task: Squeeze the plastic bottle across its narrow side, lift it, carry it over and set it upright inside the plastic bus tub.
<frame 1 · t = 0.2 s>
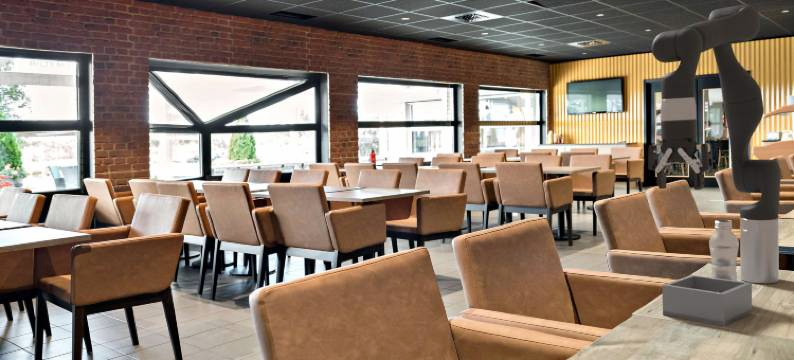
hand: (680, 189, 155), 29 cm above the table, fingers open, 8 cm apart
plastic bottle: (724, 302, 165), on the table
bus tub: (707, 314, 155), on the table
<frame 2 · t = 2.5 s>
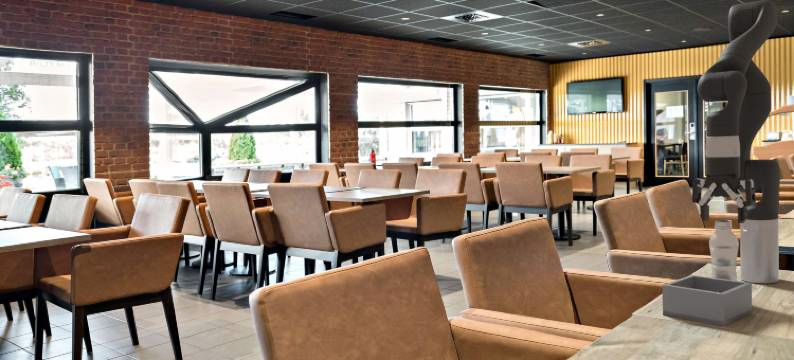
hand: (723, 221, 163), 20 cm above the table, fingers open, 8 cm apart
nothing on the table moved.
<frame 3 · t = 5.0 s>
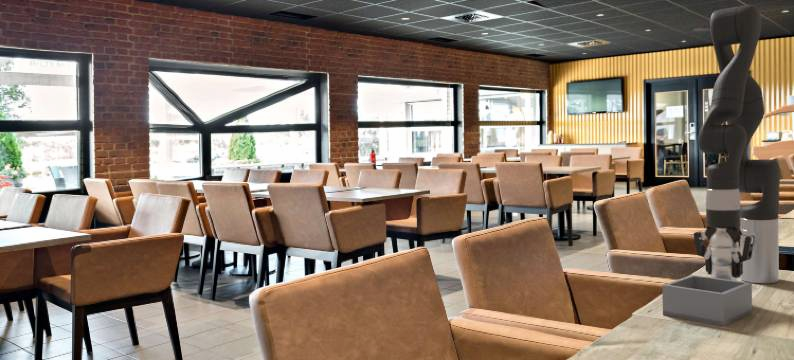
hand: (723, 275, 164), 7 cm above the table, fingers closed on plastic bottle, 5 cm apart
plastic bottle: (724, 302, 165), on the table, touching gripper
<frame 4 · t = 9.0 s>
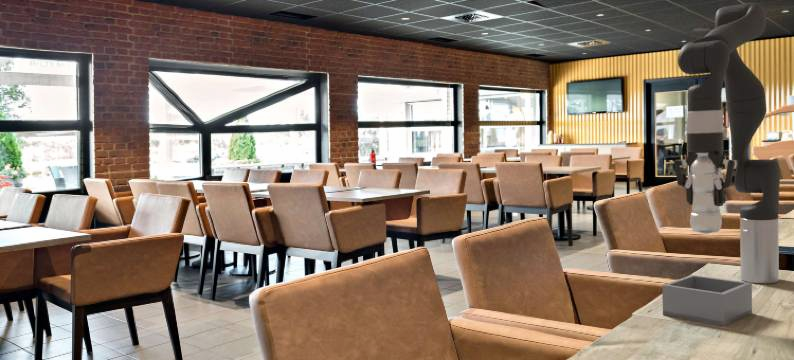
hand: (705, 204, 153), 25 cm above the table, fingers closed on plastic bottle, 5 cm apart
plastic bottle: (706, 234, 154), point 19 cm above the table, touching gripper
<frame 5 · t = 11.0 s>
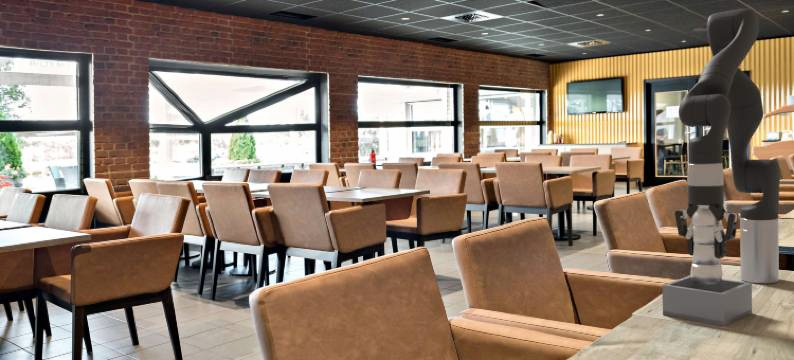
hand: (706, 256, 154), 13 cm above the table, fingers closed on plastic bottle, 5 cm apart
plastic bottle: (706, 285, 154), point 7 cm above the table, touching gripper
when the fingers open (9 cm above the table, at t = 12.9 s): plastic bottle drops 1 cm, resting on bus tub.
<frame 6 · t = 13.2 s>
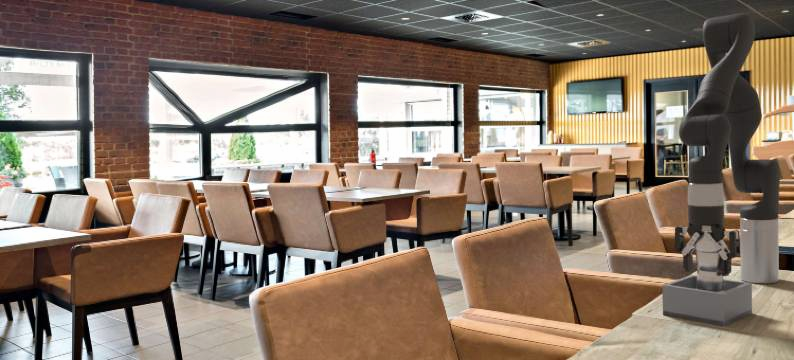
hand: (706, 273, 154), 10 cm above the table, fingers open, 8 cm apart
plastic bottle: (710, 310, 155), point 1 cm above the table, touching bus tub
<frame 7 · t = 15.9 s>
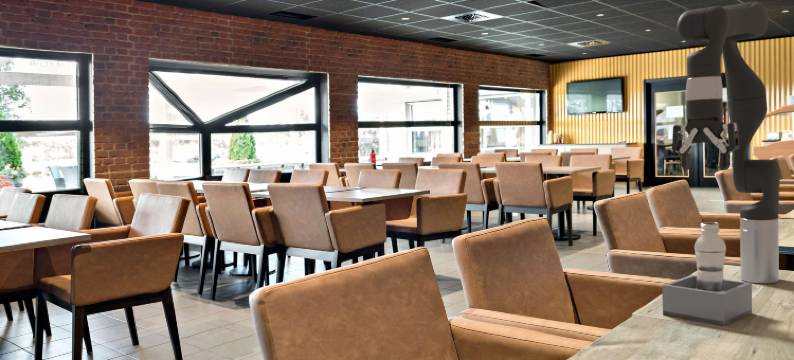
hand: (705, 169, 152), 33 cm above the table, fingers open, 8 cm apart
nothing on the table moved.
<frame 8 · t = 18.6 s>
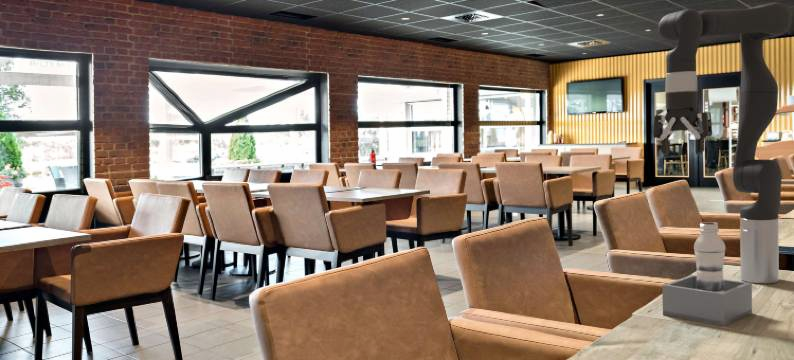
hand: (682, 154, 172), 36 cm above the table, fingers open, 8 cm apart
nothing on the table moved.
at the end: plastic bottle inside the target area on the bus tub (0.6 cm from its centre), point 0.8 cm above the bus tub's base; plastic bottle tilted 0°; the gripper is holding nothing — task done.
